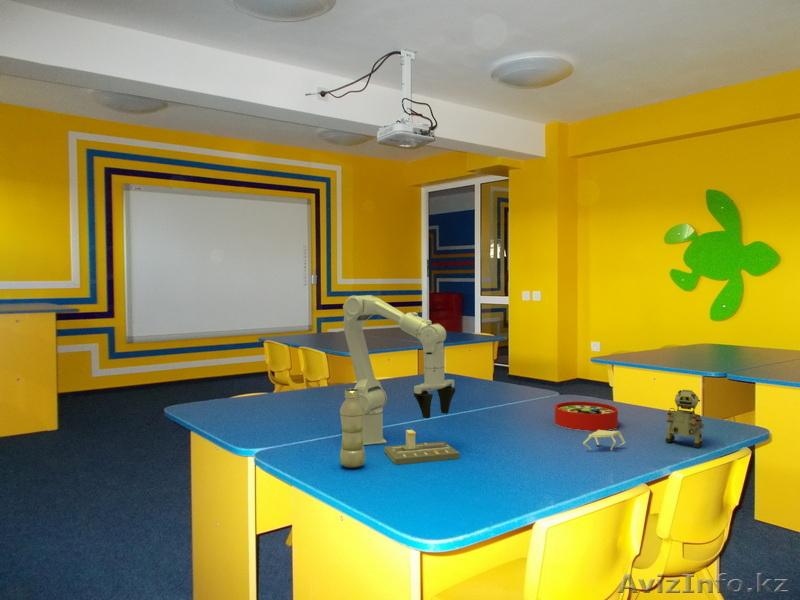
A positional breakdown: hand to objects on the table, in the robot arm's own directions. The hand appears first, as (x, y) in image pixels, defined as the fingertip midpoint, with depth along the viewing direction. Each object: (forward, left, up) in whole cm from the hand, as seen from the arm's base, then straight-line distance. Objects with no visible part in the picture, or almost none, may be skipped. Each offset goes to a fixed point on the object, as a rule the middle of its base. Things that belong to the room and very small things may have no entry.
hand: (435, 415), depth 162 cm
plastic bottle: (-25, -6, -10) cm, 28 cm away
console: (-5, -2, -10) cm, 12 cm away
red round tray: (+58, +14, -11) cm, 61 cm away
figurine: (+73, -14, -10) cm, 75 cm away
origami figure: (+45, -12, -11) cm, 48 cm away
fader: (-8, -2, -9) cm, 12 cm away
